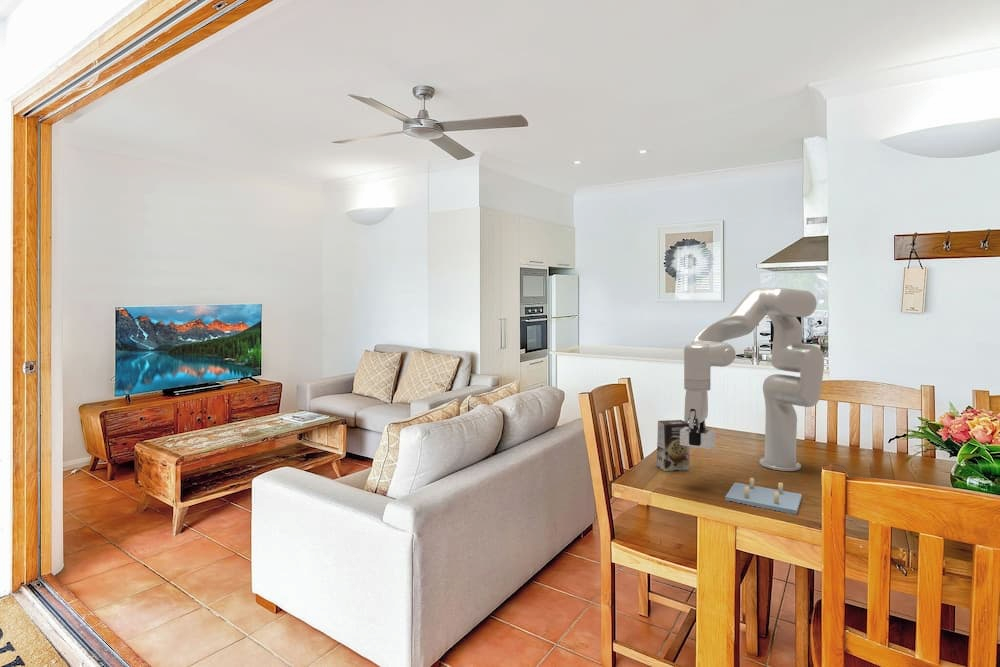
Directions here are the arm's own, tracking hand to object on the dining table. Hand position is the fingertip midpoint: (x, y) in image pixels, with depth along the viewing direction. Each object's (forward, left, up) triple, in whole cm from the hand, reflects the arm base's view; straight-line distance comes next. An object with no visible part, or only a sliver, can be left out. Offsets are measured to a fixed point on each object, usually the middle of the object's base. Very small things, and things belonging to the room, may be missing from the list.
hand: (697, 441), depth 161 cm
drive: (0, 0, -1) cm, 1 cm away
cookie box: (-14, -11, -14) cm, 23 cm away
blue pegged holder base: (0, +19, -14) cm, 23 cm away
